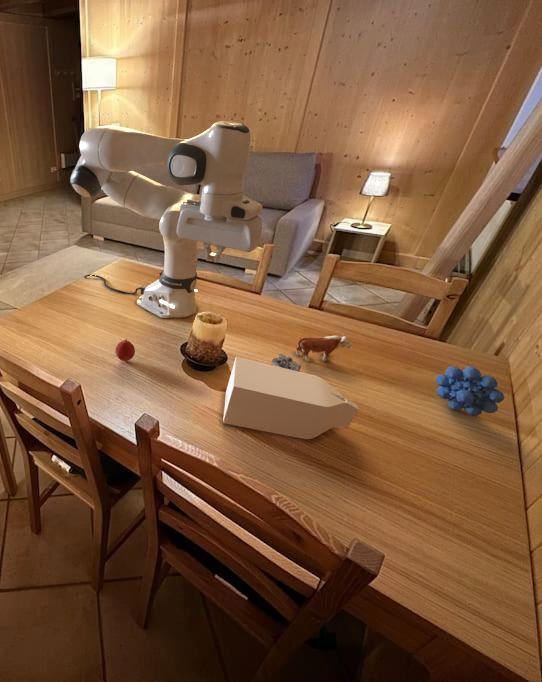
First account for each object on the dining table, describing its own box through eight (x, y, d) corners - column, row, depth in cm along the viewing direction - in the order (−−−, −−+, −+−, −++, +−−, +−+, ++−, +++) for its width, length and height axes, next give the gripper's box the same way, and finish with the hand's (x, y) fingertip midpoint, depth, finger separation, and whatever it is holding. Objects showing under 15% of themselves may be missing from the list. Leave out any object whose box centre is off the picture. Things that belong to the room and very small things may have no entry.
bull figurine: (346, 364, 101) (356, 340, 97) (294, 361, 104) (302, 337, 99) (340, 355, 105) (350, 332, 100) (290, 352, 107) (297, 329, 103)
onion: (111, 361, 109) (111, 340, 105) (123, 352, 112) (123, 331, 108) (127, 369, 106) (127, 347, 101) (138, 359, 109) (139, 338, 104)
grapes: (418, 405, 87) (442, 367, 80) (426, 392, 90) (450, 354, 84) (483, 432, 79) (516, 392, 73) (489, 416, 83) (521, 377, 76)
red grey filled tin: (262, 381, 97) (271, 352, 92) (272, 378, 98) (281, 348, 93) (287, 400, 91) (297, 369, 86) (297, 396, 92) (308, 365, 87)
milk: (233, 386, 79) (370, 416, 72) (235, 356, 88) (358, 380, 80) (222, 423, 86) (346, 454, 78) (225, 392, 95) (337, 417, 87)
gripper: (174, 201, 87) (170, 255, 95) (257, 213, 75) (245, 274, 82) (188, 195, 90) (183, 248, 98) (270, 206, 78) (257, 266, 86)
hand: (212, 260), depth 90 cm, fingers closed
